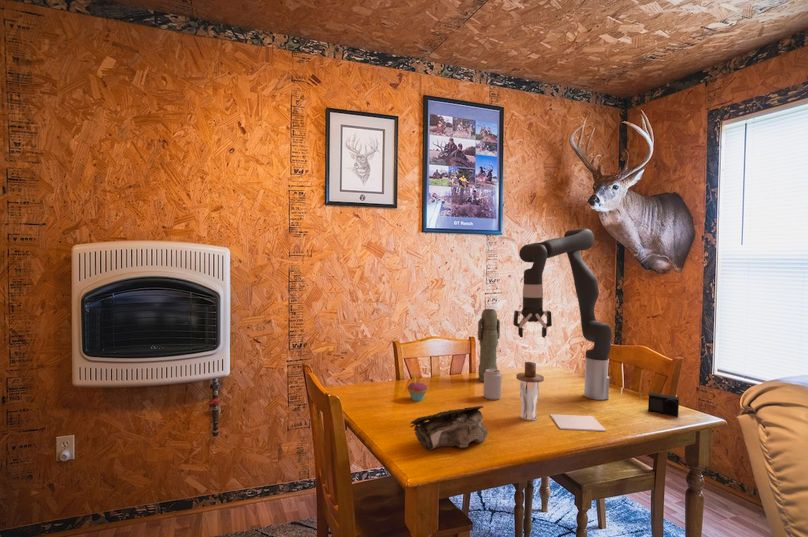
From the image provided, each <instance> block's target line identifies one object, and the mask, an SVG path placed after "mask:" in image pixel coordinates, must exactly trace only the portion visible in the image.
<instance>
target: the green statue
mask: <svg viewBox="0 0 808 537" xmlns="http://www.w3.org/2000/svg"><path fill="white" fill-rule="evenodd" d="M480 316H481V318H480V319H479V320H478V322H477V340H478V341H479V365H478V372H477V374H478V381H480V382H482V383H484V373H485V372H486V370H487V369H497V370H498V367H497V347H498V345H499V344H498V343H499V342H498V341H499V339H500V329H501V328H500V327H501V322H500V320H499V319H498V314H497V311H496V310H495V309H493V308H484V309H483V310H482V313H481V315H480Z"/></svg>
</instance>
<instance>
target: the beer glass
mask: <svg viewBox="0 0 808 537" xmlns="http://www.w3.org/2000/svg"><path fill="white" fill-rule="evenodd" d="M519 395H520V396H519V397H520V402H521V411H520V415H519V417H520V419H521V420H523V421H531V422H532V421H537V419H538V416H537V407H538V406H537V405H538V400H539V396H540V382H536V383H534V382H525V381H521V380H520V383H519Z"/></svg>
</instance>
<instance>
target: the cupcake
mask: <svg viewBox="0 0 808 537" xmlns="http://www.w3.org/2000/svg"><path fill="white" fill-rule="evenodd" d="M412 372H413V374H412V375H413V382H411V383H409V385H407V387H406V388H407V391H408V393H409V394H410V398H411V401H414V402H421V401H423V400H424V397H425V395H426V393H427V392H428V386H427V385H426V383H424V382H420V381H419V382H417V379H416V373H415V371H414V370H413V371H412Z"/></svg>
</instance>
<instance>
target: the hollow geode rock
mask: <svg viewBox="0 0 808 537" xmlns="http://www.w3.org/2000/svg"><path fill="white" fill-rule="evenodd" d="M482 408H484V405H477V406H472V407H471V406H467V407H464V408H457V409H450V410H444V411H439V412H438V413H434V414H431V415H427V416H421V417H420V416H419V417H418V418H415V419H414V420H413V421H411V422H410V425H409V428H413V427H414V429H413V431H415V432H414V434H415V437H416V439H417V441H418V442H419V443H420V444H421V445H422V447H424V449H425V450H426V451H428V452H429V451H432V450H434V449H435V448H438V447H448V448H449V447H453V446H456V447H458V448H467V447H469V444H470V443H471V442H475V443H483V442H485V440H486V438H487V436H488V434H489V431H488V429H487V427H486V426H485V423H484V422H483V420H482V419H484V416H483V414H482V411H481V409H482Z"/></svg>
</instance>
